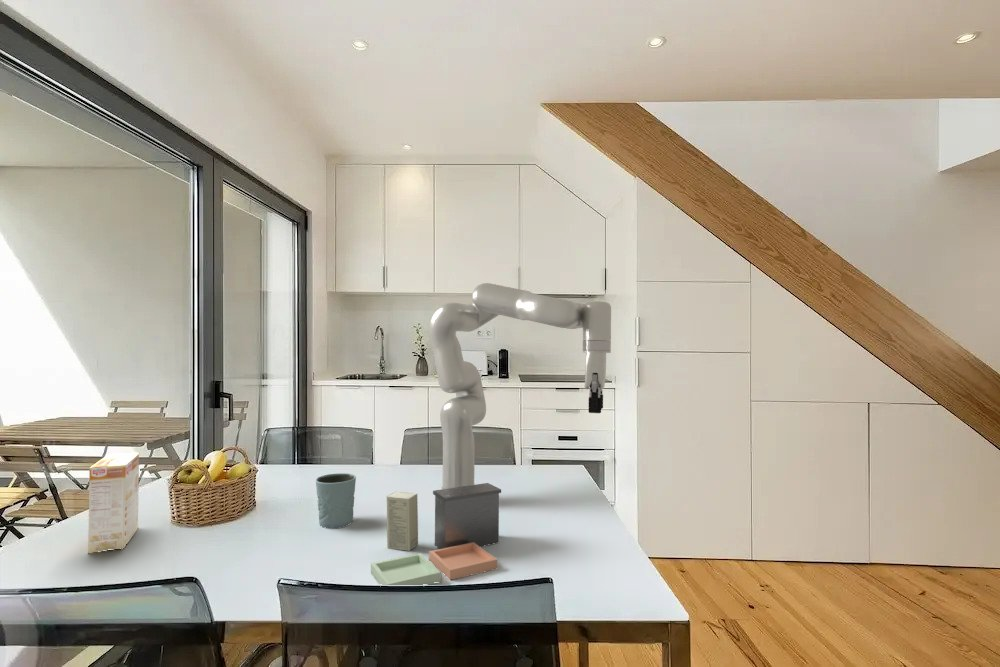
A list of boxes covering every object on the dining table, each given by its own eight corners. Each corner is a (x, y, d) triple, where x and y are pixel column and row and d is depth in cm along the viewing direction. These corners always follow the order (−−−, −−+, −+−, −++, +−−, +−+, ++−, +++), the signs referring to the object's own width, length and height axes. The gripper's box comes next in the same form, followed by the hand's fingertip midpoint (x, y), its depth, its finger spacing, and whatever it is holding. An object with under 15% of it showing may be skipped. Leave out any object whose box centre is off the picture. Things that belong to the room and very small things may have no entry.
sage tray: (370, 573, 109) (370, 563, 109) (420, 562, 114) (420, 553, 114) (387, 595, 99) (387, 584, 99) (440, 582, 105) (440, 572, 105)
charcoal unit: (432, 545, 124) (433, 490, 124) (487, 534, 132) (487, 482, 132) (444, 555, 118) (444, 498, 119) (500, 543, 126) (501, 489, 126)
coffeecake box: (105, 532, 131) (107, 454, 132) (139, 528, 134) (141, 451, 134) (85, 554, 117) (87, 467, 118) (123, 549, 120) (125, 464, 121)
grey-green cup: (363, 520, 141) (363, 475, 142) (336, 532, 132) (337, 484, 132) (334, 514, 146) (334, 471, 146) (306, 526, 137) (307, 479, 137)
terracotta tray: (429, 560, 115) (429, 551, 115) (473, 550, 121) (473, 542, 121) (449, 580, 106) (450, 570, 106) (497, 568, 111) (497, 559, 111)
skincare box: (418, 545, 124) (419, 493, 125) (409, 551, 120) (409, 498, 120) (395, 541, 126) (395, 490, 127) (385, 548, 122) (386, 495, 122)
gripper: (585, 347, 151) (584, 406, 151) (579, 347, 135) (578, 414, 134) (611, 347, 149) (611, 407, 149) (609, 347, 133) (608, 415, 132)
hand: (595, 410), depth 142 cm, fingers open, 9 cm apart
